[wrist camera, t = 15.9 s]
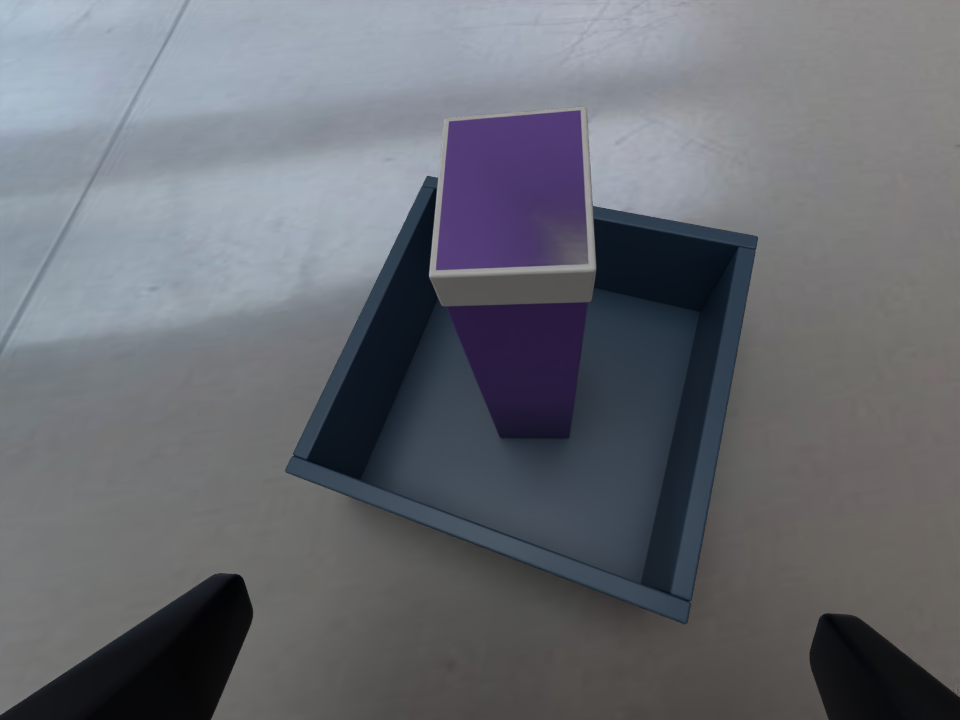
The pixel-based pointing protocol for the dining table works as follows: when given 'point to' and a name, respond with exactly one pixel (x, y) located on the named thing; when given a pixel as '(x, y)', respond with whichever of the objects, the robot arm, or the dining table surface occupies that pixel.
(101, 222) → the dining table surface
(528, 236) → the purple white-banded prism
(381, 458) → the open blue box
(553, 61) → the dining table surface
